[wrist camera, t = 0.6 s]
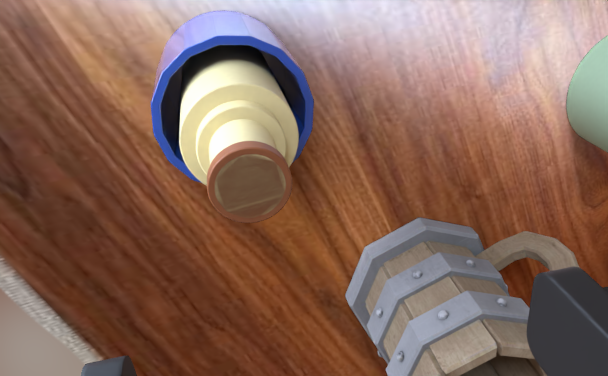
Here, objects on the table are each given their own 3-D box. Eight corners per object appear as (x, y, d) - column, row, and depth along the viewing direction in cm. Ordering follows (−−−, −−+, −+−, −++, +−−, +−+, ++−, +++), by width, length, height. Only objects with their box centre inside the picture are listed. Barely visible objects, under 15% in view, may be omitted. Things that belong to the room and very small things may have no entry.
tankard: (382, 353, 52) (447, 501, 39) (326, 266, 46) (381, 407, 33) (566, 254, 51) (697, 373, 38) (534, 151, 45) (677, 251, 32)
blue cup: (153, 9, 34) (144, 35, 27) (292, 11, 36) (317, 36, 29) (164, 140, 38) (158, 192, 31) (288, 136, 40) (309, 185, 33)
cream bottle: (178, 35, 34) (172, 121, 21) (271, 35, 36) (324, 117, 22) (184, 123, 37) (181, 251, 23) (269, 121, 38) (316, 242, 24)
